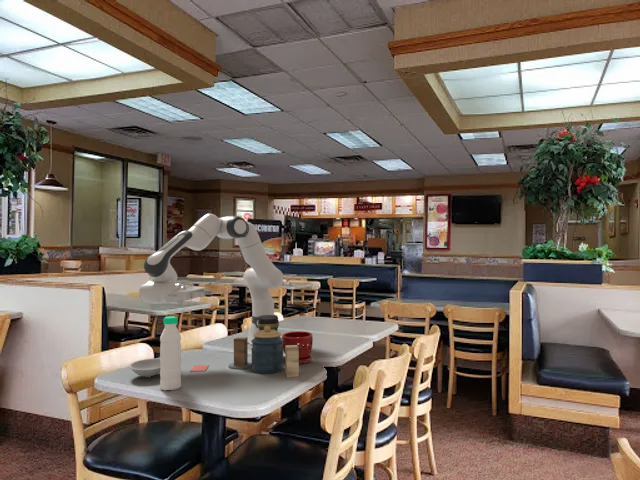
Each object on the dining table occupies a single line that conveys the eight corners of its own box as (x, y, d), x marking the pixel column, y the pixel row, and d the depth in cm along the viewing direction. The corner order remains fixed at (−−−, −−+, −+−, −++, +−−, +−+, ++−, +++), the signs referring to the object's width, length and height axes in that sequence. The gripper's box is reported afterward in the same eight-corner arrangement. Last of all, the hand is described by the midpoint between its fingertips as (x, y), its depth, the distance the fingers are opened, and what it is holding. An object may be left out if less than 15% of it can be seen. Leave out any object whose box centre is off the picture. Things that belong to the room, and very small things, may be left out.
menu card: (194, 367, 200) (194, 365, 200) (208, 367, 200) (208, 365, 200) (189, 373, 191) (189, 371, 191) (205, 372, 191) (205, 370, 191)
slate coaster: (233, 362, 205) (233, 361, 205) (255, 363, 203) (255, 362, 203) (225, 368, 195) (225, 367, 195) (248, 369, 193) (248, 368, 193)
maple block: (285, 373, 186) (285, 345, 187) (296, 373, 187) (296, 344, 188) (287, 376, 182) (286, 347, 182) (298, 376, 183) (298, 347, 183)
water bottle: (164, 385, 172) (164, 315, 173) (183, 385, 172) (183, 315, 172) (157, 391, 165) (156, 318, 166) (177, 391, 165) (177, 318, 165)
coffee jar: (278, 353, 222) (278, 313, 222) (280, 357, 214) (279, 315, 214) (257, 354, 220) (257, 314, 220) (258, 358, 212) (257, 316, 212)
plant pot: (282, 358, 212) (282, 331, 212) (311, 357, 213) (311, 330, 213) (281, 366, 199) (281, 337, 199) (313, 365, 200) (313, 336, 200)
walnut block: (237, 363, 202) (237, 336, 202) (247, 363, 201) (247, 337, 201) (233, 365, 197) (233, 338, 197) (244, 366, 197) (244, 339, 197)
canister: (250, 366, 198) (249, 324, 198) (281, 364, 201) (281, 322, 201) (252, 374, 185) (252, 329, 186) (285, 372, 188) (285, 327, 188)
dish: (132, 372, 191) (132, 359, 191) (170, 369, 194) (170, 357, 194) (125, 384, 173) (125, 370, 174) (167, 381, 177) (167, 368, 177)
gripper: (165, 288, 193) (198, 288, 191) (186, 284, 214) (216, 284, 212) (165, 303, 193) (198, 304, 191) (186, 298, 213) (216, 298, 211)
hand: (208, 293), depth 202 cm, fingers open, 8 cm apart
